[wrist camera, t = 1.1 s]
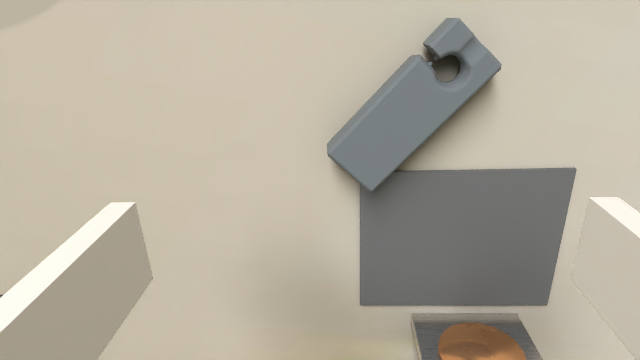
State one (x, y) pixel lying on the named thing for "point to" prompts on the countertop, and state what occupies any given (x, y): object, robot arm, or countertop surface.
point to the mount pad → (463, 236)
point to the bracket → (411, 106)
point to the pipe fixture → (472, 337)
